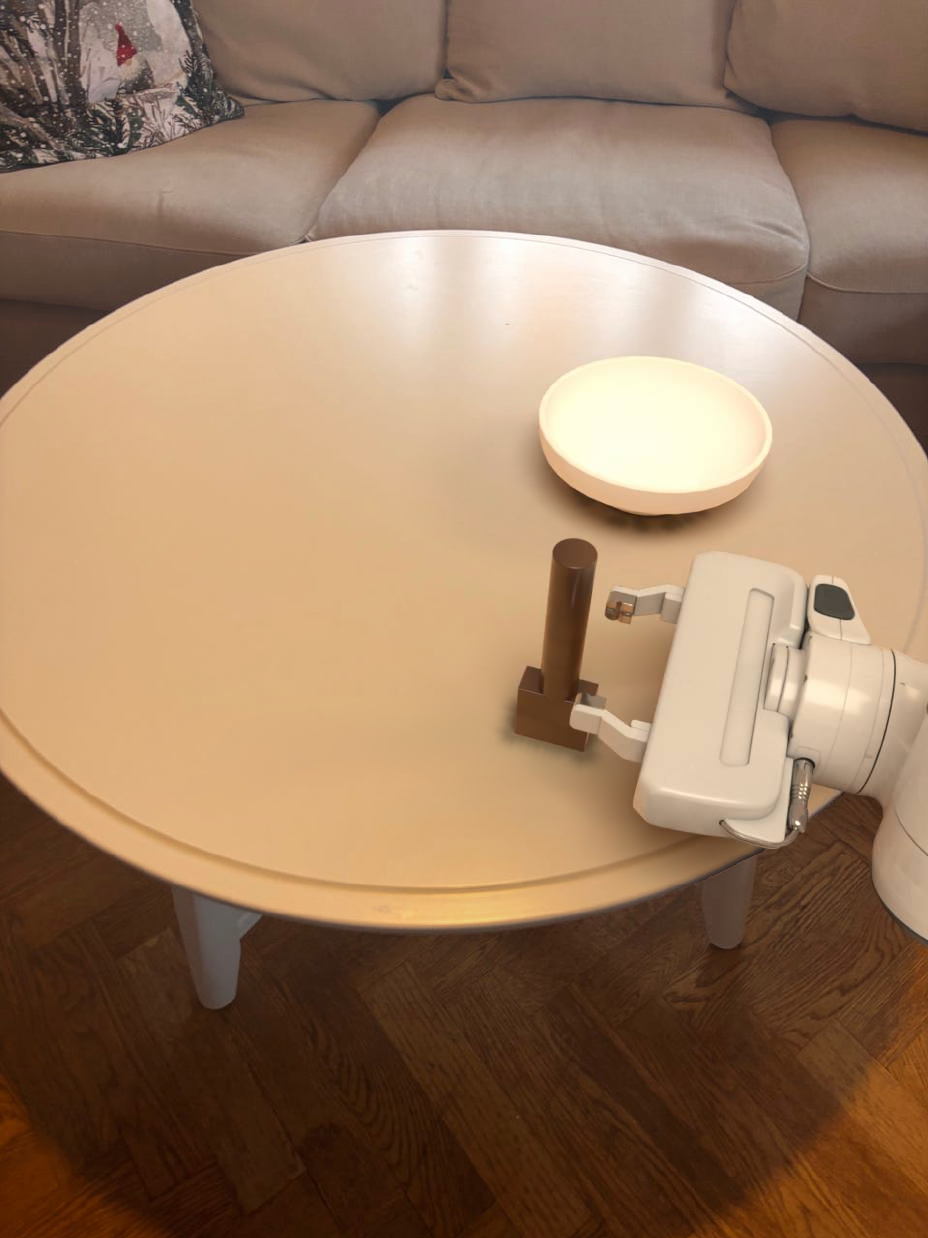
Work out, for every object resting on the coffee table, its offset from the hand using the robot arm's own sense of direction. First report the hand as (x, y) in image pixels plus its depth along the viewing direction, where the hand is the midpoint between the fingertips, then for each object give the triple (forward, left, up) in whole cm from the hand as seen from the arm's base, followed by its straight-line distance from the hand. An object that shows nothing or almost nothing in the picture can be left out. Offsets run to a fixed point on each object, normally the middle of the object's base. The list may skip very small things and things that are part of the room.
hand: (590, 652), depth 60 cm
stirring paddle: (+1, -1, -9) cm, 10 cm away
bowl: (-14, -26, -10) cm, 31 cm away
